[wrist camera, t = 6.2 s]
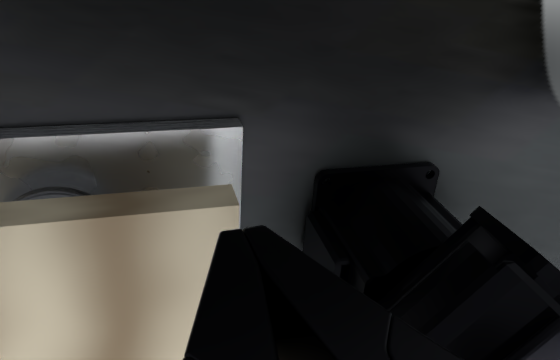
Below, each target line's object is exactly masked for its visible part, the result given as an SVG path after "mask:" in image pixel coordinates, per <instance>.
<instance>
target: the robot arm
mask: <svg viewBox="0 0 560 360" xmlns="http://www.w3.org/2000/svg"><path fill="white" fill-rule="evenodd" d="M430 170H431V171H430ZM428 171H430V173H429V174H428V175H426V173H427V172H428ZM438 176H439V169H438V168H437V167H436V166H435V165H434V164H433V163H430V162H424V163H411V164H398V165H384V166H371V167H358V168H344V169H331V170H323V171H321V172H320V173H318V175H317V176H316V178H315V184H314V193H313V202H312V211H310V212H309V213H308V215H307V216H306V225H305V235H304V244H303V252H302V251H301V250H299V249H298V248H296V247H295V246H294V245H292V244H291V243H289V242H288V241H286V240H285V239H283V238H282V237H280V236H279V235H278V234H276V233H275V232H273V231H272V230H270V229H269V228H267V227H266V226H263V225H261V226H254V227H246V228H244V229H243V231H242V230H241V229H232V230H224V231H221V232H220V233H219V236H218V240H217V243H216V247H215V250H214V254H213V257H212V260H211V264H210V267H209V271H208V274H207V278H206V281H205V285H204V288H203V292H202V295H201V298H200V302H199V305H198V309H197V312H196V316H195V319H194V323H193V326H192V330H191V333H190V336H189V340H188V343H187V347H186V350H185V354H184V358H183V360H560V271H559V270H558V269H557V268H556V267H555V266H553V265H552V264H551V263H550V262H549V261H548V260H547V259H545V258H544V257H543V256H542V255H541V254H540V253H538V252H537V251H536V250H535V249H533V248H532V247H531V246H530V245H528V244H527V243H526V242H525V241H523V240H522V239H521V238H520V237H518V236H517V235H516V234H515V233H513V232H512V231H511V230H509V229H508V228H507V227H506V226H504V225H503V224H502V223H501V222H499V221H498V220H497V219H495V218H494V217H493V216H492V215H490V214H489V213H488V212H487V211H485V210H484V209H483V208H481V207H480V206H479V207H478V208H477V209H476V210H474V211H473V212H472V213H471V214H470V216H471V217H470V218H469V219H468V220H467V221H466V222H465V223H464V224H463V225H462V224H461V223H460V222H459V221H458V220H457V219H456V218H455V217H454V216H453V215H452V214H451V213H450V212H449V211H448V210H447V209H446V208H445V207H444V206H443V205H442V204H440V203H439V202H438V201H437V200H436V199H435V198H434V197H433V196H434V192H435V188H436V184H437V180H438ZM328 178H329V179H330V180H329V181H328V182H327V183H325V184H323V181H324V180H325V179H328Z"/></svg>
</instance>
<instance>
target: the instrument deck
mask: <svg viewBox="0 0 560 360" xmlns="http://www.w3.org/2000/svg"><path fill="white" fill-rule="evenodd" d="M232 229H239V203H238V200H237V197H236V195H235V192H234V190H233V187H232V184H227V185H214V186H202V187H189V188H176V189H163V190H151V191H138V192H125V193H113V194H100V195H87V196H75V197H62V198H49V199H36V200H24V201H11V202H0V360H183V358H184V354H185V350H186V347H187V343H188V340H189V336H190V333H191V330H192V326H193V323H194V319H195V316H196V312H197V309H198V305H199V302H200V298H201V295H202V292H203V288H204V285H205V281H206V278H207V274H208V271H209V267H210V264H211V260H212V257H213V254H214V250H215V247H216V243H217V240H218V236H219V233H220V232H221V231H224V230H232Z"/></svg>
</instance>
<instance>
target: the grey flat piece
mask: <svg viewBox="0 0 560 360" xmlns="http://www.w3.org/2000/svg"><path fill="white" fill-rule="evenodd" d="M242 144H243V126H242V124H241V122H240V120H239V118H226V119H202V120H179V121H156V122H133V123H110V124H87V125H63V126H40V127H17V128H0V202H11V201H24V200H36V199H49V198H62V197H75V196H87V195H100V194H113V193H125V192H138V191H151V190H163V189H176V188H189V187H202V186H214V185H227V184H232V187H233V190H234V192H235V195H236V197H237V200H238V203H239V229H240V215H241V179H242Z"/></svg>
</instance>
